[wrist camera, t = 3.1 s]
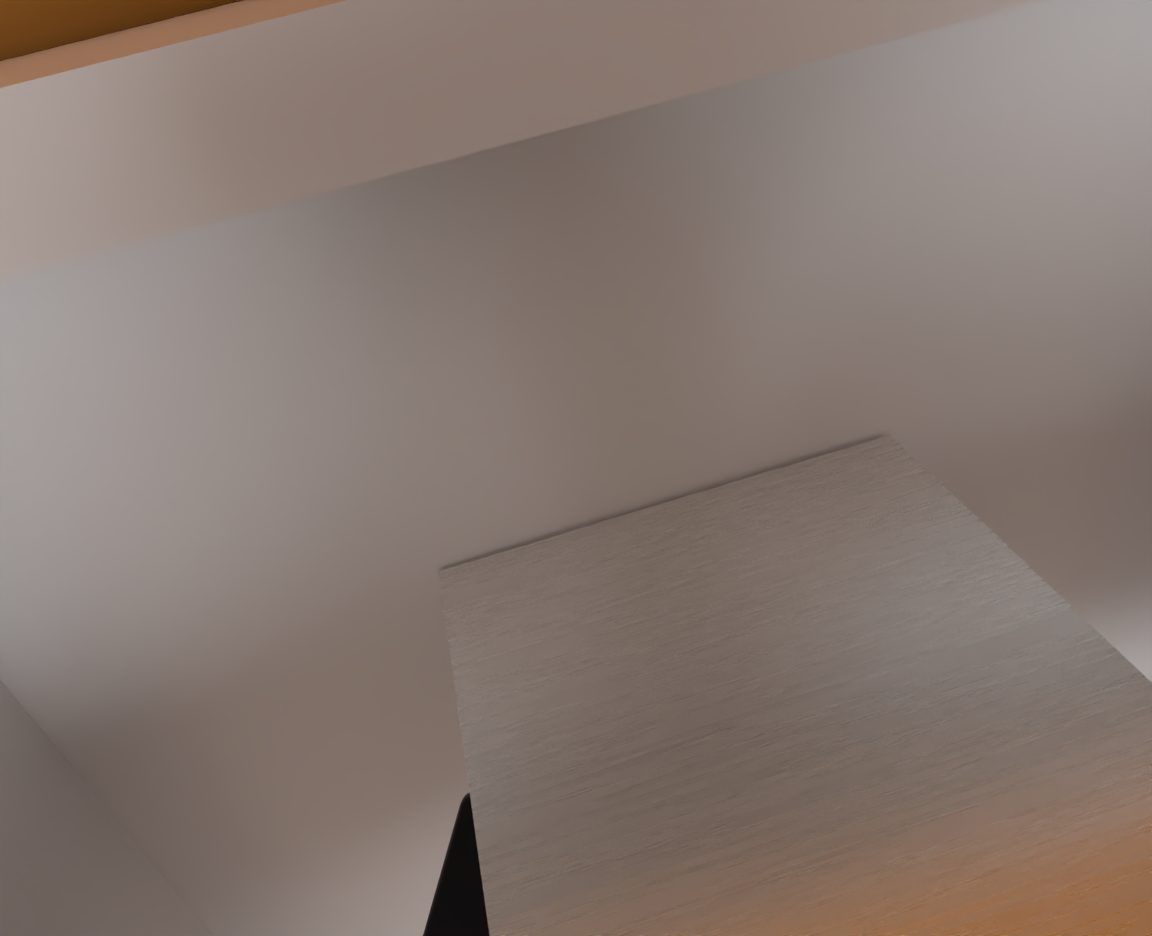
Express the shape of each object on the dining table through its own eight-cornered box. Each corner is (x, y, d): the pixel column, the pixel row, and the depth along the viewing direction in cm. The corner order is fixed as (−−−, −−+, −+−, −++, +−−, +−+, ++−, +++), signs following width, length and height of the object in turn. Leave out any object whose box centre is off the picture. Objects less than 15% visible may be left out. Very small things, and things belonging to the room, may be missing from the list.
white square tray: (1420, -295, 7) (1897, -391, 5) (1137, 799, 14) (1270, 946, 12) (-481, 181, 6) (-954, 328, 4) (307, 1083, 13) (300, 1295, 11)
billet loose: (889, 434, 8) (1700, 1202, 3) (890, 733, 11) (1357, 1433, 6) (438, 571, 8) (587, 1640, 3) (544, 846, 11) (724, 1690, 6)
